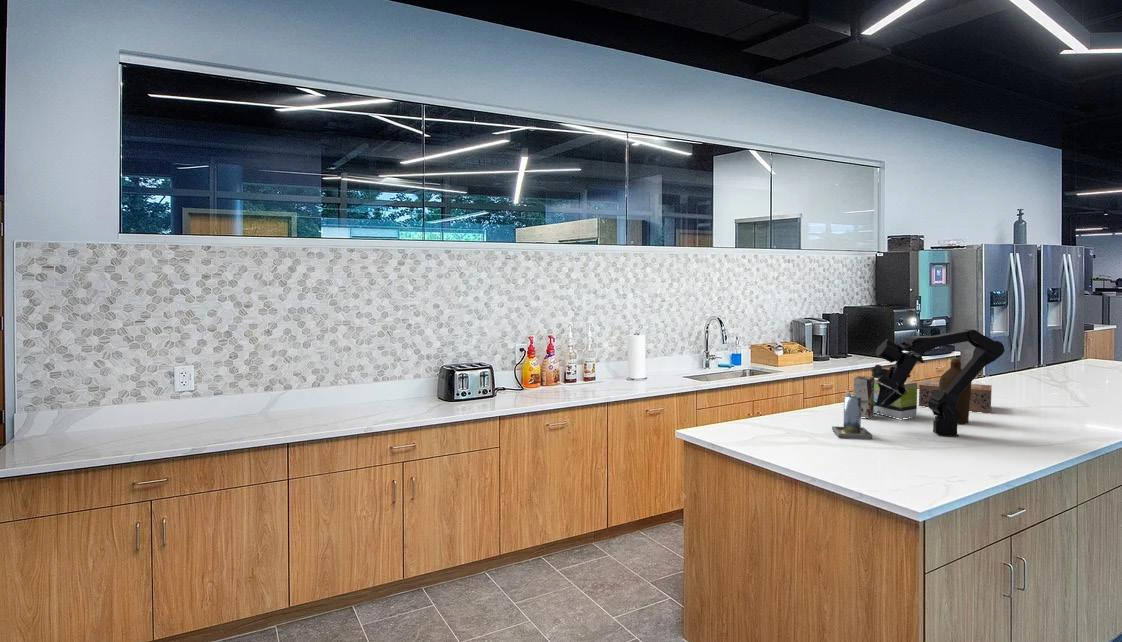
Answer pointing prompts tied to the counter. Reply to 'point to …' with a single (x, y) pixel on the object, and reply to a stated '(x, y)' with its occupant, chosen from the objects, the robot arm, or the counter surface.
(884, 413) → the tea box
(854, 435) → the tray
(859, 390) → the coffee box
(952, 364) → the olive oil
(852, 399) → the spout can
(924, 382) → the tissue box cover
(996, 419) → the counter surface
